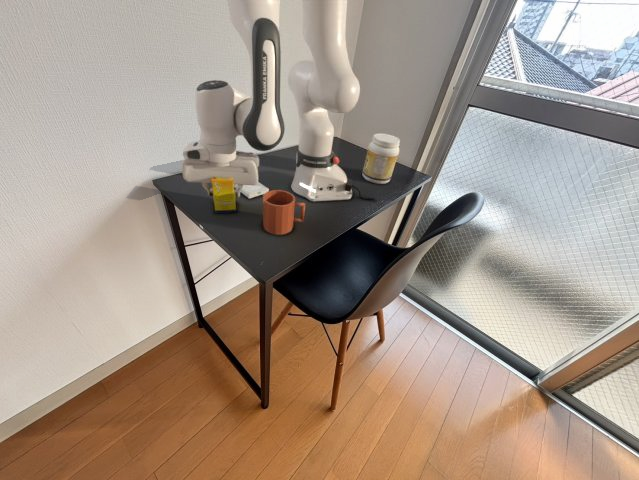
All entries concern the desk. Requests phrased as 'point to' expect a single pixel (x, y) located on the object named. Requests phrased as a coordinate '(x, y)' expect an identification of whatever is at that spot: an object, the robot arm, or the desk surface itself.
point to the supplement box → (223, 194)
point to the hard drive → (253, 190)
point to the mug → (280, 212)
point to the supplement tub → (381, 158)
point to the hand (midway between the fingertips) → (224, 195)
